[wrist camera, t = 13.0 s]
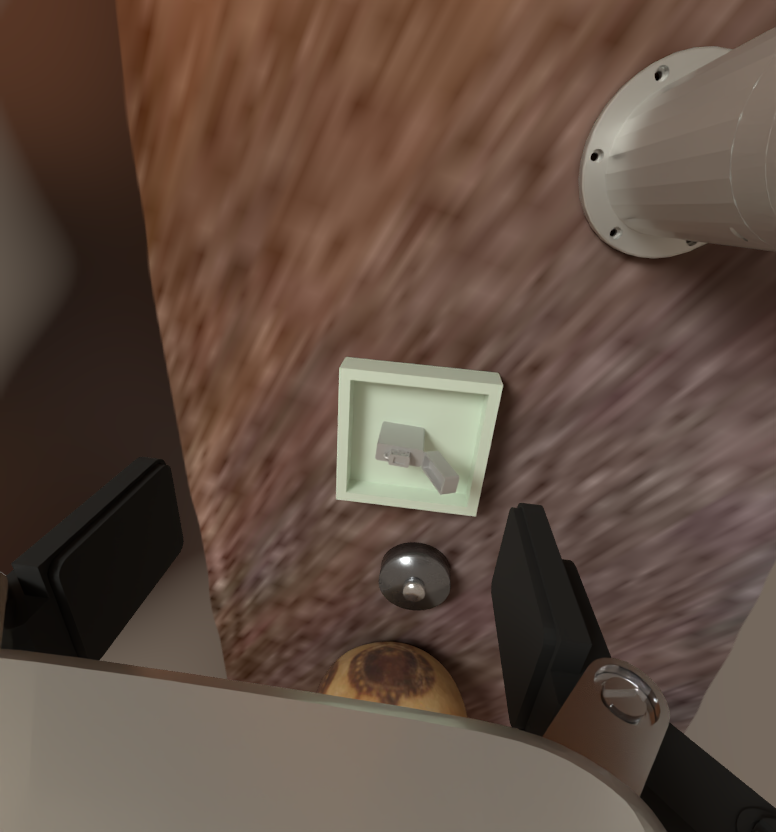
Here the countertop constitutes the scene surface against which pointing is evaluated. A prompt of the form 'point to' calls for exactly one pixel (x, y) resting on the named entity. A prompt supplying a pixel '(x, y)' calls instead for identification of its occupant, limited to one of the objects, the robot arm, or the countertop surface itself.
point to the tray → (422, 407)
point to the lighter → (415, 455)
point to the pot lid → (415, 576)
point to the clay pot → (394, 678)
